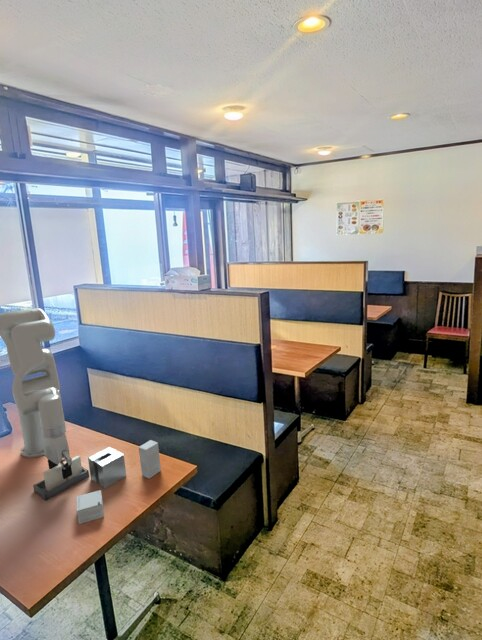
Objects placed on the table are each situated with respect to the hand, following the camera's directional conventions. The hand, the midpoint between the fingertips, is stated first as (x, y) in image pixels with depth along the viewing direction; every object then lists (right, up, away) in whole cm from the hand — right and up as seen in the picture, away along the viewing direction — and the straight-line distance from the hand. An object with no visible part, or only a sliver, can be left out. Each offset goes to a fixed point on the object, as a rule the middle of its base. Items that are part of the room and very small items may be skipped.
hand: (60, 472), depth 142 cm
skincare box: (+32, -3, +6) cm, 32 cm away
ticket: (+1, -4, +1) cm, 4 cm away
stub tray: (0, -5, +1) cm, 5 cm away
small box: (+17, -8, -14) cm, 23 cm away
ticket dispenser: (+16, -4, +4) cm, 17 cm away
